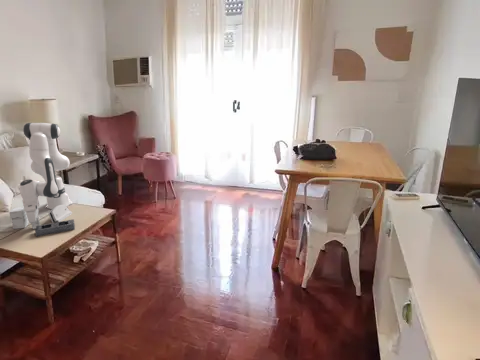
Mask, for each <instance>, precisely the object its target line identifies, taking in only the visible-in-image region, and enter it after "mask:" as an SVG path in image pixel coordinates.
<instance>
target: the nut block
mask: <svg viewBox="0 0 480 360" xmlns="http://www.w3.org/2000/svg"><path fill="white" fill-rule="evenodd" d="M39 217H40V216H39V215H38V216H37V219H36V223H37V225H36V226H39V225H41V222H40V218H39ZM30 224H31V228H32V230H36V226H34V225H33V223H30Z"/></svg>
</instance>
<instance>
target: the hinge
mask: <svg viewBox="0 0 480 360" xmlns="http://www.w3.org/2000/svg"><path fill="white" fill-rule="evenodd" d="M71 215H73V212H72V210H70V209H69V208H68V206H66V205H65V204H64V205H59V206H56V207H54V208H53V209H50V211H49V212H48V216H49V218H50V220H51V223H56V222H61V221H65V220H66V218H69V217H70V216H71Z"/></svg>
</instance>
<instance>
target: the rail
mask: <svg viewBox="0 0 480 360" xmlns="http://www.w3.org/2000/svg"><path fill="white" fill-rule="evenodd" d="M75 227H76V226H75V219H68V220H62V221H61V222H58V221H56V222H54V223H52V222H50V223H46V224H40V225H39V226H36V229H34V231H35V232H34V233H35V235H36V237H37V238H38V237H43V236H48V235H52V234H58V233H65V232H69V231H73V230H76V229H75Z"/></svg>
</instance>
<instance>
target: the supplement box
mask: <svg viewBox="0 0 480 360" xmlns="http://www.w3.org/2000/svg"><path fill="white" fill-rule="evenodd" d="M9 217H10V220H11V224H12V229H13V230H16V229H25V228H26V227H28V225H29V224H30V223H29V221H28V218H27V215H26V212H25V211H24V206H23V207H22V206H21V207H13V208H12V209H11V210H9Z"/></svg>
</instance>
